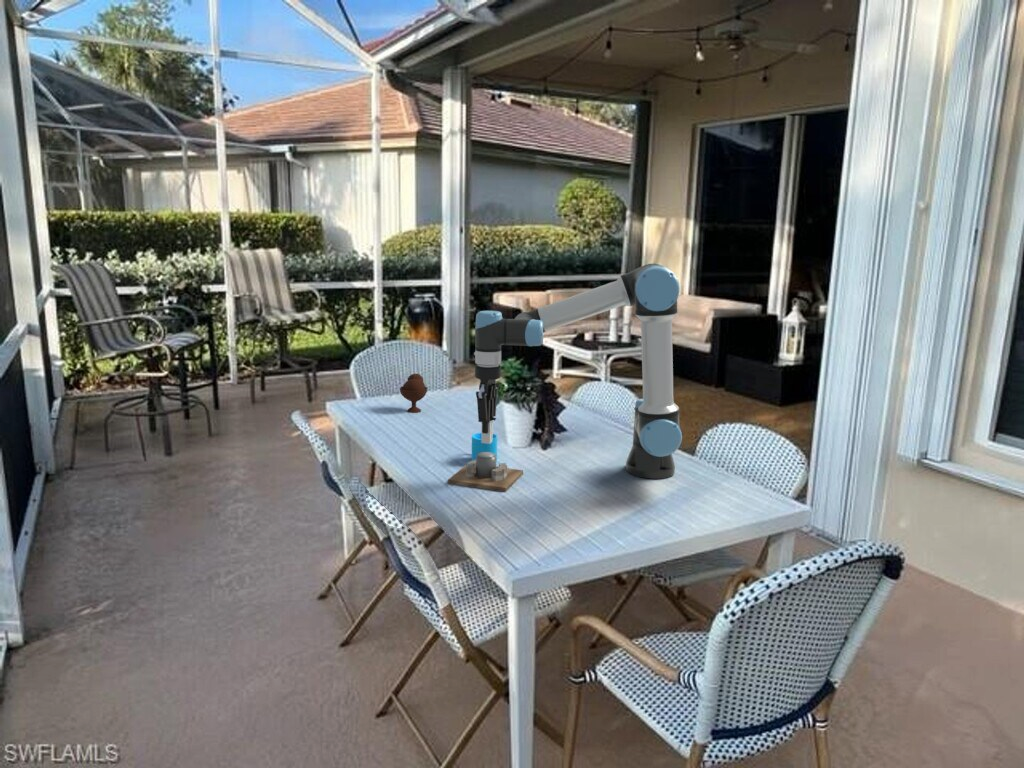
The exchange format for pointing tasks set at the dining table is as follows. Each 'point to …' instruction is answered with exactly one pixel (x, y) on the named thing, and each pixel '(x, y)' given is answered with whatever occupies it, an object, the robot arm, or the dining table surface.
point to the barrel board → (498, 481)
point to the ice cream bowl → (414, 391)
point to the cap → (485, 464)
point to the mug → (483, 445)
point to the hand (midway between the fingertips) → (486, 442)
